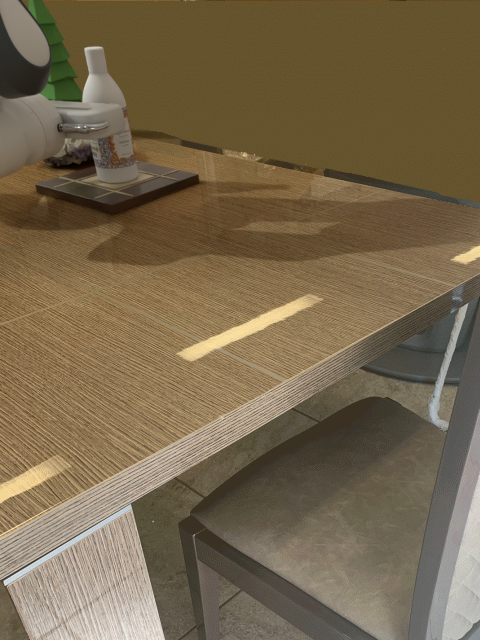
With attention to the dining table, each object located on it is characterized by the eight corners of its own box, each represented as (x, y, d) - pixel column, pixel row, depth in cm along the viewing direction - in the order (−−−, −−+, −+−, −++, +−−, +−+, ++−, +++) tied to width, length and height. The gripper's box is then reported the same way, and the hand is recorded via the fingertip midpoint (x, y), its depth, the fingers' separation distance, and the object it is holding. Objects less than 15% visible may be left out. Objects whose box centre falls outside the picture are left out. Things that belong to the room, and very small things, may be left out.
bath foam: (116, 186, 109) (90, 52, 97) (90, 179, 112) (61, 48, 100) (147, 176, 114) (125, 46, 101) (120, 170, 117) (97, 43, 105)
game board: (36, 192, 112) (34, 183, 111) (124, 165, 125) (122, 156, 124) (113, 214, 103) (111, 204, 102) (199, 182, 116) (198, 173, 115)
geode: (66, 201, 124) (130, 171, 130) (55, 160, 116) (124, 130, 122) (17, 154, 129) (81, 127, 135) (3, 111, 120) (72, 85, 127)
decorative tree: (39, 137, 143) (-3, -27, 125) (67, 128, 150) (31, -29, 132) (74, 141, 140) (37, -27, 122) (101, 131, 147) (70, -29, 129)
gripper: (90, 106, 87) (140, 87, 97) (-36, 99, 91) (25, 82, 102) (100, 155, 91) (147, 132, 101) (-21, 146, 95) (36, 125, 106)
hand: (85, 107), depth 102 cm, fingers open, 8 cm apart
